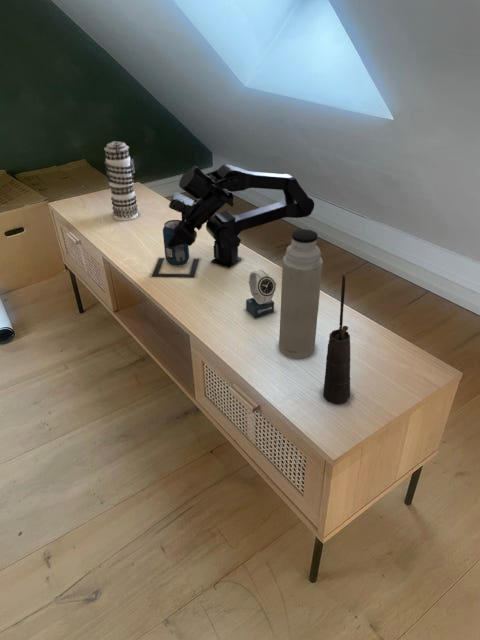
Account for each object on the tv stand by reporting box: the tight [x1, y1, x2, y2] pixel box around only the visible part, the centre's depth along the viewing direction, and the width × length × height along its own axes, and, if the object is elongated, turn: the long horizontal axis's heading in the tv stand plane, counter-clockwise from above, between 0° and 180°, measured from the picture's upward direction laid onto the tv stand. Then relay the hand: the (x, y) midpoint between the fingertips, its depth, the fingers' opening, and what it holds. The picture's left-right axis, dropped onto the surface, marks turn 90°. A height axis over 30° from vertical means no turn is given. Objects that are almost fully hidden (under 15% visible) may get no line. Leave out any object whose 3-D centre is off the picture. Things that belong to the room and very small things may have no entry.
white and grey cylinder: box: [103, 140, 139, 221], centre depth 170 cm, size 9×9×25 cm
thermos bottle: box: [278, 228, 324, 360], centre depth 105 cm, size 8×8×28 cm
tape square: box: [151, 257, 200, 278], centre depth 145 cm, size 11×12×1 cm
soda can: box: [162, 219, 190, 267], centre depth 144 cm, size 7×7×12 cm
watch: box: [245, 269, 277, 319], centre depth 122 cm, size 6×8×11 cm
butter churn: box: [322, 274, 351, 405], centre depth 93 cm, size 9×10×28 cm
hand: (171, 240), depth 144 cm, fingers closed on soda can, 7 cm apart
